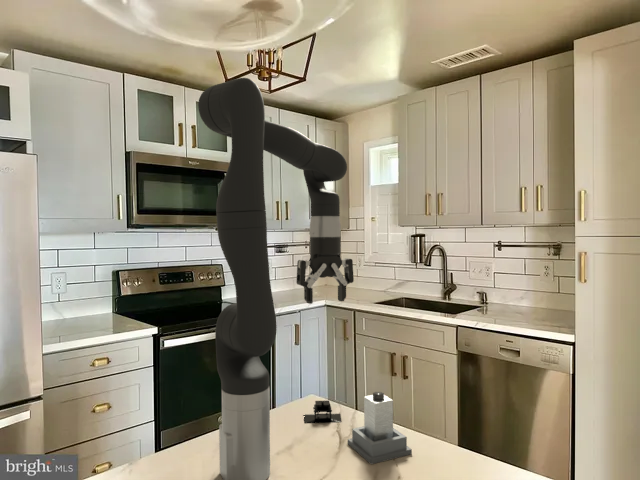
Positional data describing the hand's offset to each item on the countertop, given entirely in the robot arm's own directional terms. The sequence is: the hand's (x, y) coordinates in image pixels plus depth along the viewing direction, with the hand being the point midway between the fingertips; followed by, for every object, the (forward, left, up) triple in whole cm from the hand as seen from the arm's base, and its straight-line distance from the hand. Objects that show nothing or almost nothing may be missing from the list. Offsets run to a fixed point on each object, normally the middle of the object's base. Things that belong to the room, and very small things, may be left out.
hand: (325, 302), depth 112 cm
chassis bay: (+5, -16, -30) cm, 34 cm away
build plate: (+1, +4, -31) cm, 31 cm away
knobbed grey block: (+5, -16, -29) cm, 34 cm away
